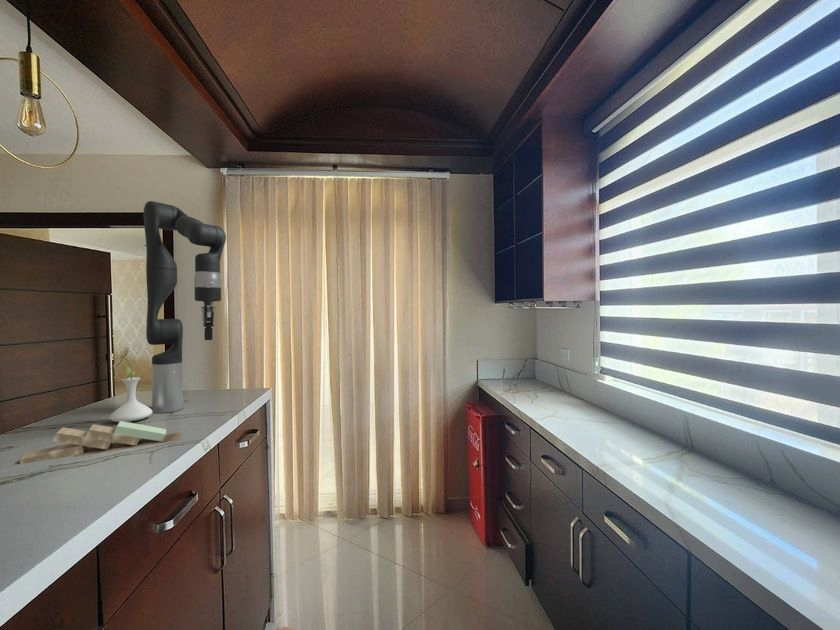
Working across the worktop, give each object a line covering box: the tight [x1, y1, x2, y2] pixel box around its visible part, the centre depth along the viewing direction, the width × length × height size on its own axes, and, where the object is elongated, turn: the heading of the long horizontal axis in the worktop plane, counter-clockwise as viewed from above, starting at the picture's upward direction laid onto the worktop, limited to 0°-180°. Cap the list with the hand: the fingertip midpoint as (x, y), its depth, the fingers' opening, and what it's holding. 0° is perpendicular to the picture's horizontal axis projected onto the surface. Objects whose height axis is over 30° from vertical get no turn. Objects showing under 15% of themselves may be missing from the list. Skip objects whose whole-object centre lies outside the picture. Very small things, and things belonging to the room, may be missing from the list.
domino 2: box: [85, 423, 141, 446], centre depth 98 cm, size 2×5×11 cm
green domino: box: [114, 421, 167, 441], centre depth 101 cm, size 2×5×11 cm
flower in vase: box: [109, 345, 154, 423], centre depth 123 cm, size 13×11×25 cm
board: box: [73, 432, 182, 458], centre depth 100 cm, size 22×7×1 cm, turn 122°
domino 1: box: [52, 427, 113, 449], centre depth 95 cm, size 2×5×11 cm
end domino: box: [19, 443, 88, 465], centre depth 92 cm, size 2×5×11 cm
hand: (208, 339), depth 121 cm, fingers closed
